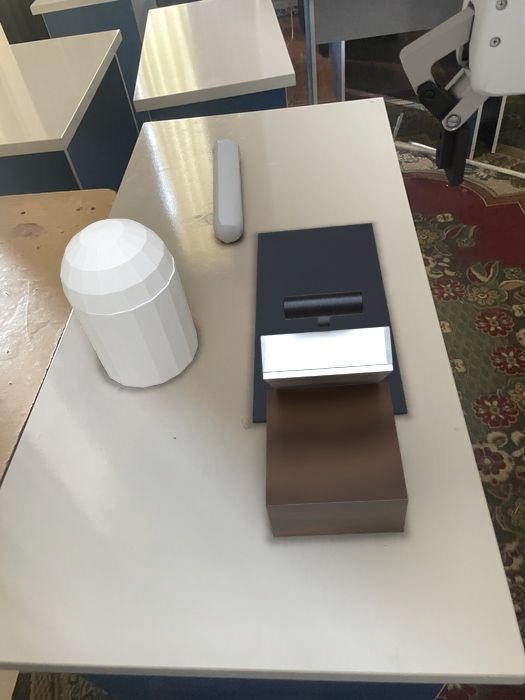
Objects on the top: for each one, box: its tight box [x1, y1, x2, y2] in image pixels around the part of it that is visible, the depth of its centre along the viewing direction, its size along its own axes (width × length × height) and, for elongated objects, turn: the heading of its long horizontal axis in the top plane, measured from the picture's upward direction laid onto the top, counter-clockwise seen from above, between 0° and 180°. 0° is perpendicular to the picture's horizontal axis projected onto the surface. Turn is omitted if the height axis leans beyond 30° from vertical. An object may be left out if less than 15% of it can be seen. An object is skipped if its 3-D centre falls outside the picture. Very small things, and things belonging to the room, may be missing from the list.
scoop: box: [261, 290, 393, 389], centre depth 52 cm, size 19×11×6 cm
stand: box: [265, 382, 409, 538], centre depth 59 cm, size 14×13×7 cm
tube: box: [211, 138, 245, 244], centre depth 96 cm, size 5×5×25 cm
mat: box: [252, 222, 408, 424], centre depth 78 cm, size 36×18×1 cm, turn 179°
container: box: [59, 218, 199, 389], centre depth 70 cm, size 14×13×20 cm
